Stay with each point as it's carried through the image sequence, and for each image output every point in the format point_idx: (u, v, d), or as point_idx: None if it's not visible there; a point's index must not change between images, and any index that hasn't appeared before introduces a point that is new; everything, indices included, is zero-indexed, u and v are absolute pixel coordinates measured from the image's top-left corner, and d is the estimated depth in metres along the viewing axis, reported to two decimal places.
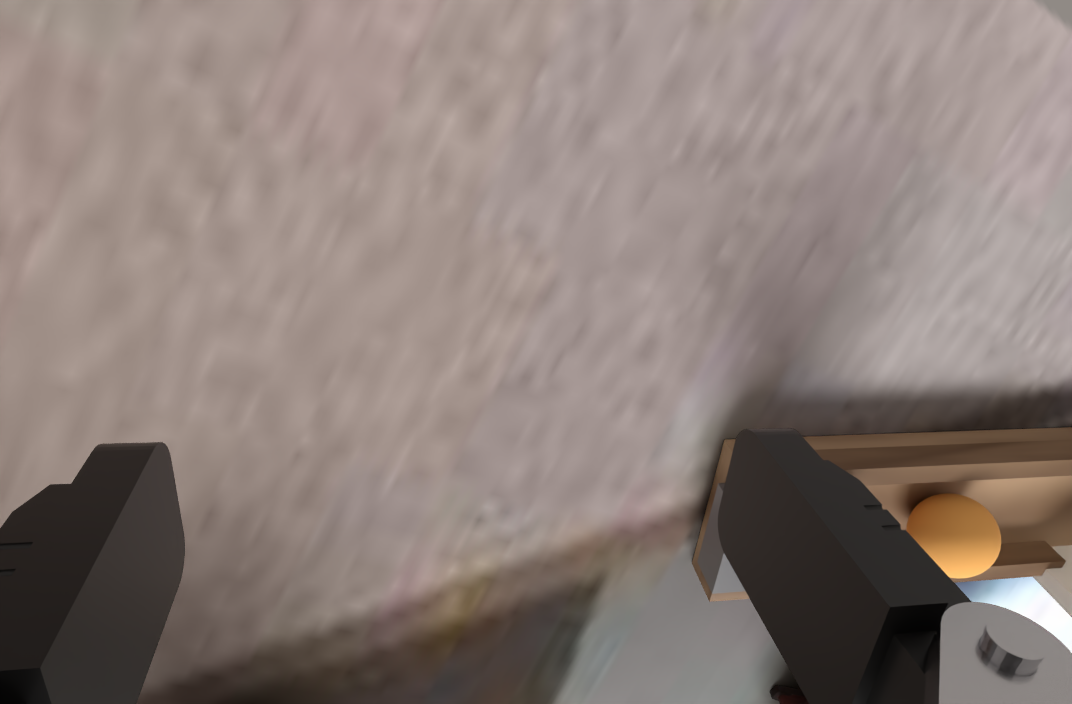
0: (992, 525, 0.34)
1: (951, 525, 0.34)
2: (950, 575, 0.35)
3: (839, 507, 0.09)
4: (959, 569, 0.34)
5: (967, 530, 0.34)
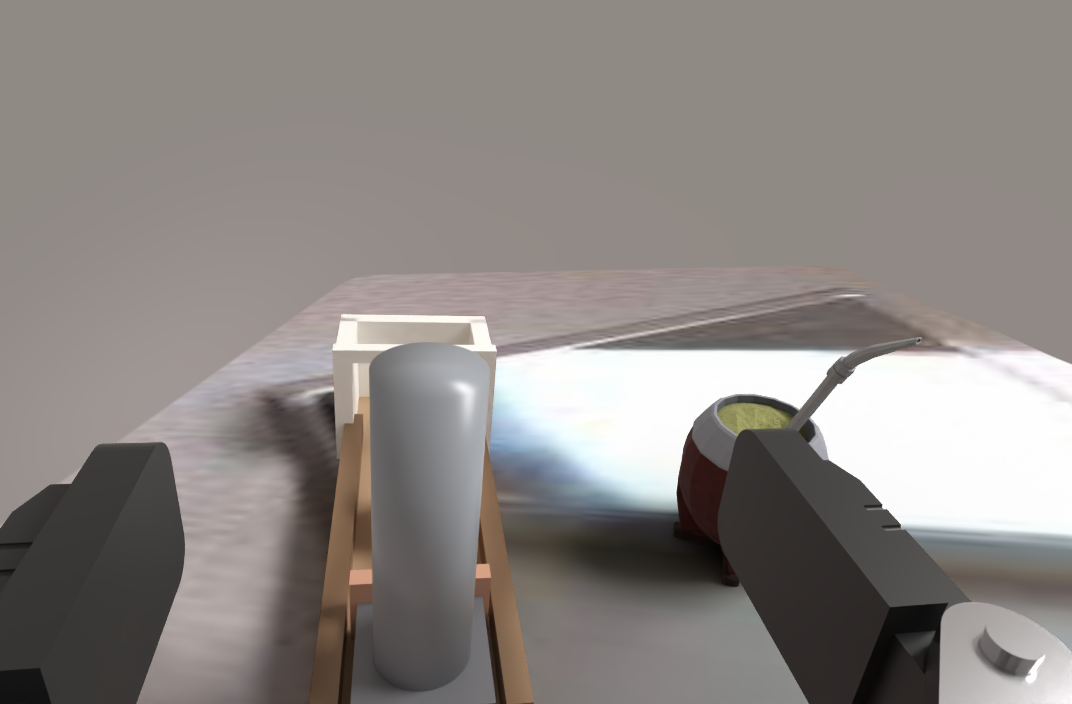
0: None
1: None
2: None
3: (839, 507, 0.09)
4: None
5: None
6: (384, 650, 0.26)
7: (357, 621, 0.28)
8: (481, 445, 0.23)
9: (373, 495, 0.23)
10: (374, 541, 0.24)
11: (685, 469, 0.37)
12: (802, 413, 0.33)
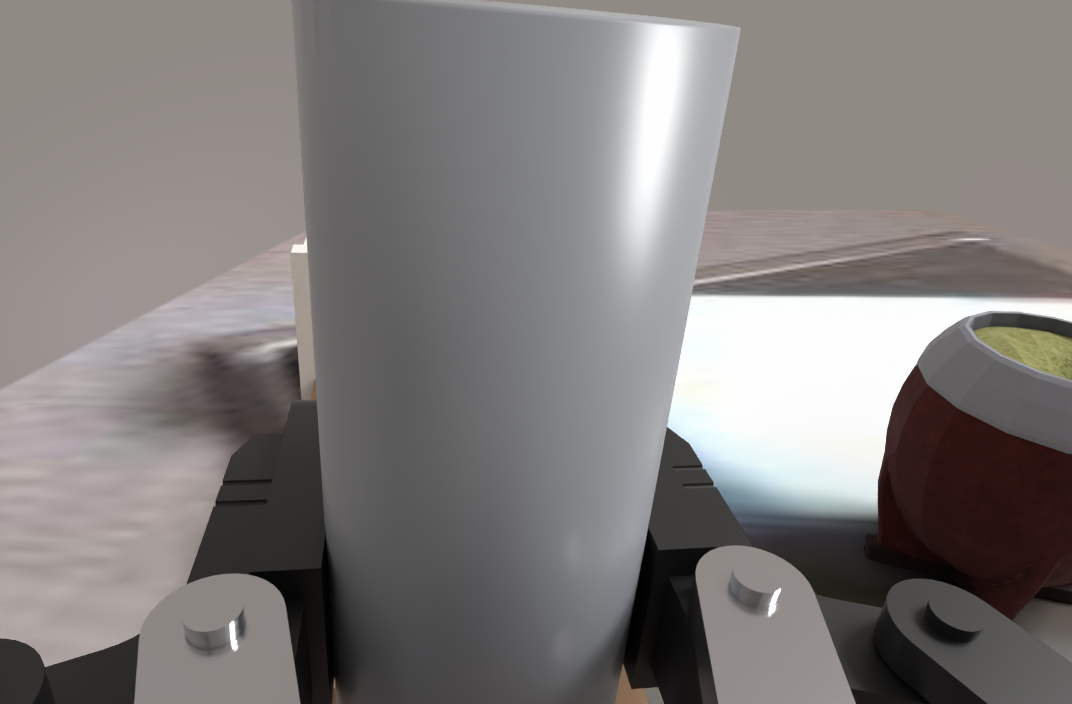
0: None
1: None
2: None
3: None
4: None
5: None
6: None
7: None
8: (689, 299, 0.07)
9: (326, 476, 0.07)
10: (335, 618, 0.08)
11: (912, 442, 0.21)
12: None
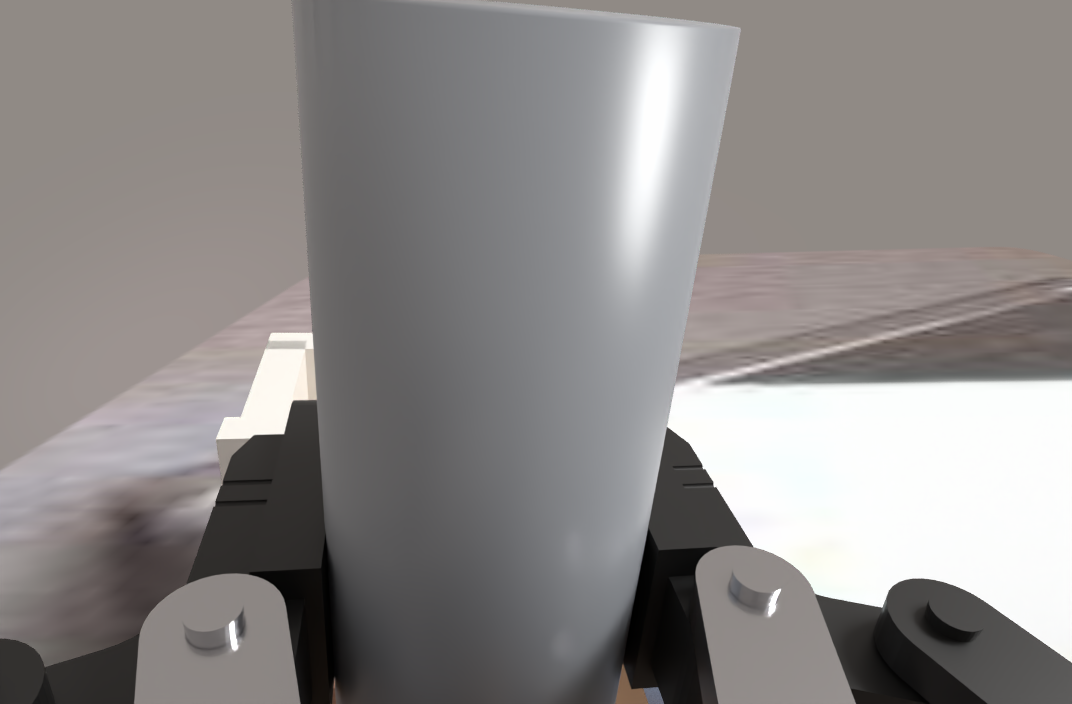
0: None
1: None
2: None
3: None
4: None
5: None
6: None
7: None
8: (690, 299, 0.07)
9: (326, 476, 0.07)
10: (335, 618, 0.08)
11: None
12: None
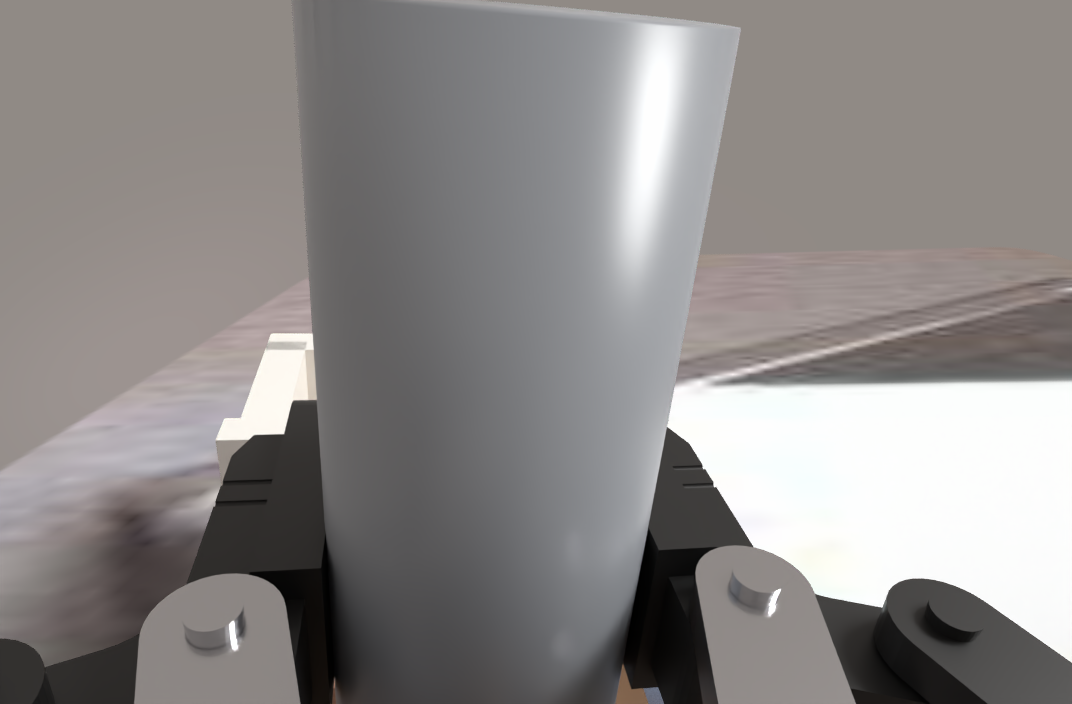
0: None
1: None
2: None
3: None
4: None
5: None
6: None
7: None
8: (689, 299, 0.07)
9: (326, 476, 0.07)
10: (335, 618, 0.08)
11: None
12: None
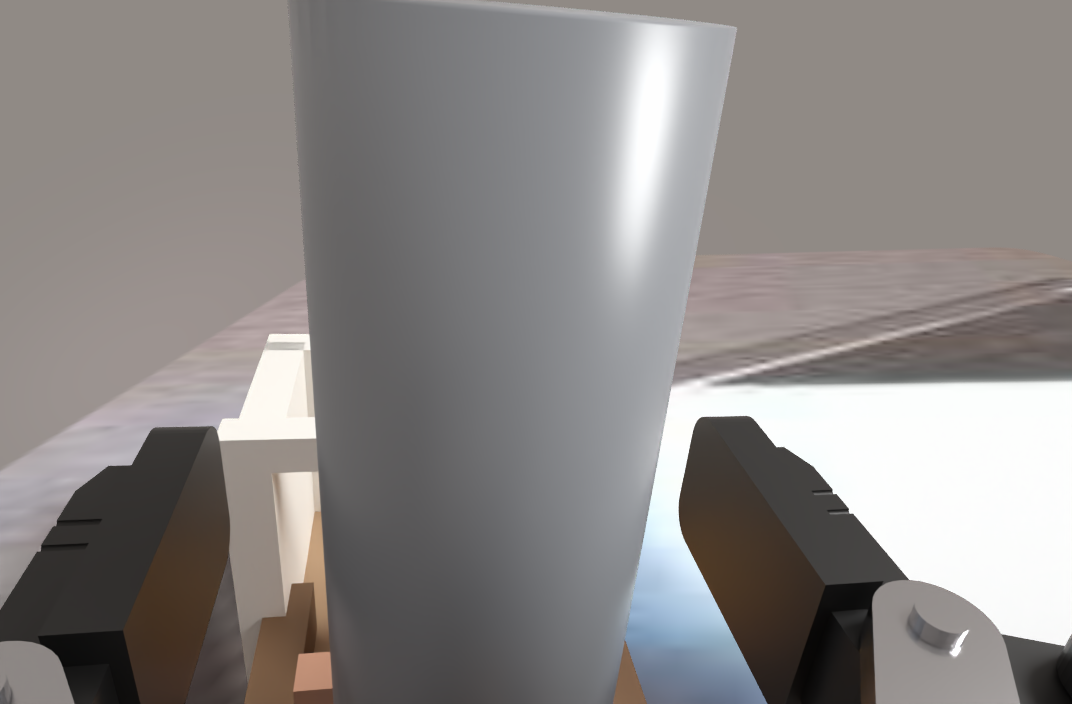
0: None
1: None
2: None
3: (786, 490, 0.09)
4: None
5: None
6: None
7: None
8: (686, 298, 0.07)
9: (323, 476, 0.07)
10: (332, 618, 0.08)
11: None
12: None
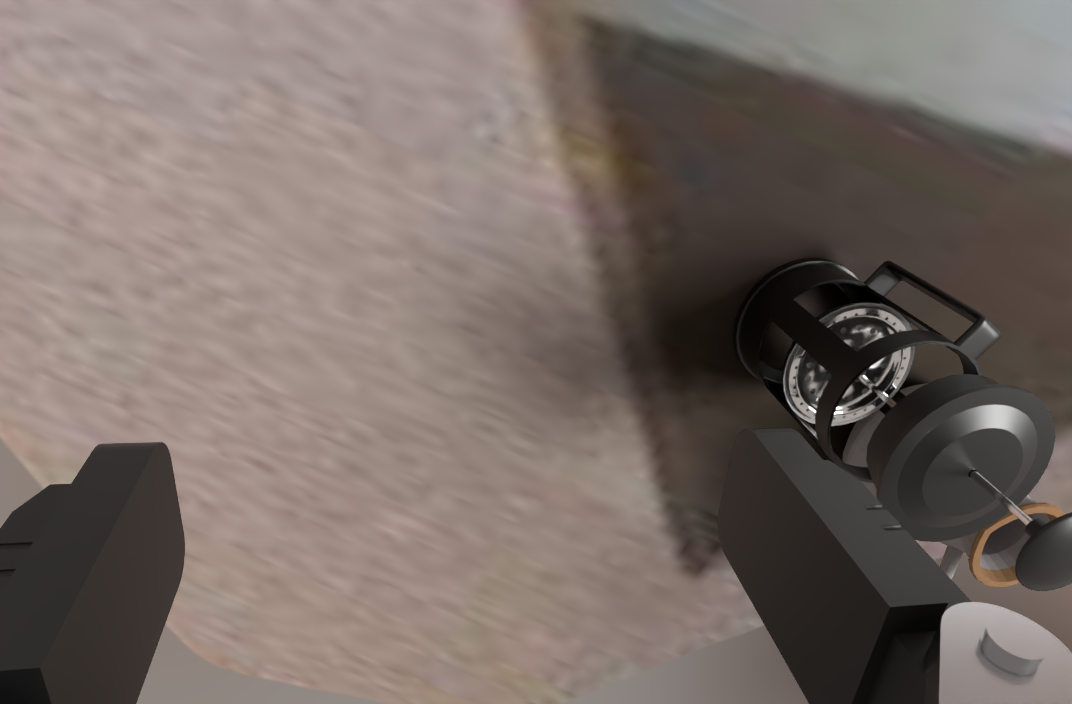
0: None
1: None
2: None
3: (839, 507, 0.09)
4: None
5: None
6: None
7: None
8: None
9: None
10: None
11: None
12: None
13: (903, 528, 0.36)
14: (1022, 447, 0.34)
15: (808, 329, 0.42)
